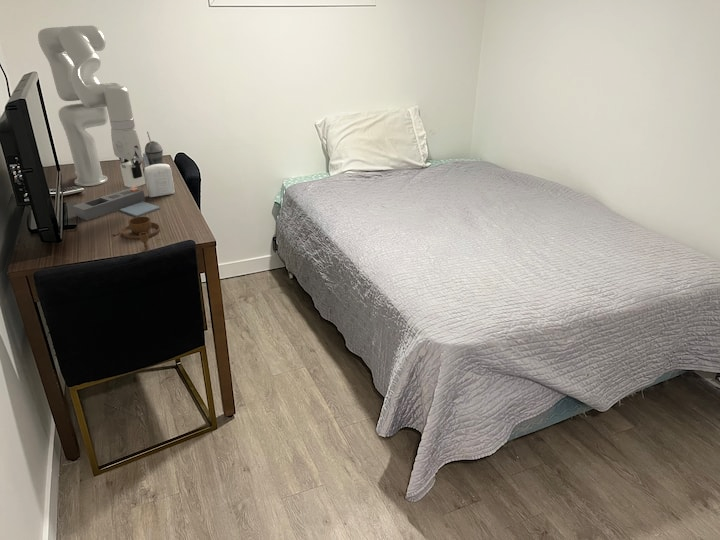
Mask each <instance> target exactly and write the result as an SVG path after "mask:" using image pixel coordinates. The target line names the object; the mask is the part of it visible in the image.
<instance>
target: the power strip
mask: <svg viewBox="0 0 720 540" xmlns="http://www.w3.org/2000/svg"><path fill="white" fill-rule="evenodd" d="M142 201H143V202H145V201H146V196H145V192H144V190H142V189H139V188H138V187H134V188H130V187H128V188H125V189H122V190H119V191H116V192H113V193H110V194H106V195H103V196H100V197H97V198H93V199H90V200H87V201H84V202H80V203H77V204H73V205H72V206H73V212H74V215H75V214H76V215H77V216H78V217H77V216H76V215H75V216H76V217H77V218H79V217H80V218H79V219H82V220H84V219H85V221H90V220H94V219H96V218H98V217H102V216H105V215H107V214H110V213H114V212H116V211H120V209H123V208H126V207H129V206H131V205H134V204H137V203H140V202H142Z"/></svg>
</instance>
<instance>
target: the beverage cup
mask: <svg viewBox="0 0 720 540" xmlns="http://www.w3.org/2000/svg"><path fill="white" fill-rule="evenodd" d="M146 134H147V137H148V142H147V143H146V145H145V148H144V152H145V153H146V156H147V159H148V162H149V166H150V165H154V164H164V160H163V159H164V157H163V154H164V152H163V151H164V150H163V148H162V147H163V146H162V145H161V144H160V143H158V142H157V141H153V140H151V137H150V133H149V131H146Z"/></svg>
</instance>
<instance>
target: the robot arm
mask: <svg viewBox="0 0 720 540" xmlns="http://www.w3.org/2000/svg"><path fill="white" fill-rule="evenodd" d="M37 38H38V43H39V47H40V49H41V51H42V52H43V55H44V56H45V58H46V60H47V62H48V64H49V67H50V70H51V74H52V78H53V81H54V86H55V89H56V93H57V95H58V97H59V98H60V100H62V101H64V102H74V101H75V102H76V101H80V102H81V103H80V102H79V103H75V104H68V105H67V104H66V105H64V106H62V107H60V109H59V110H58V118H59V121H60V123H61V126H62V127H63V130H64V133H65V135H66V138H67V139H66V140H67V143H68V146H69V149H70V150H69V151H70V154H71V156H72V157H71V158H72V161H73V165H74V169H75V171H74V174H75V175H76V177H77V178H76V179H74V184H75V185H76V186H79V187H92V186H98V185H102V184H105V183H106V182H107V181H108V176H107V175H104V174H103V171H102V167H101V163H100V158H99V153H98V150H97V145H96V140H95V139H94V137H93V136H92V134H90V132H89V133H88V132H87V131H86V129H89V128H96V127H101V126H105V125H106V124H107V123H108V119H109V123H110V128H111V129H110V133H111V135H110V136H111V143H112V149H113V154H114V156H115V157H117V158H119V161H120V164H122V163H125V162H129V161H131V164H132V173H133V178H135V179H136V178H139V177H142V172H141V167H140V166H141V163H142V162H144V158H143V153H142V147H141V143H140V140H139V139H140V138H139V136H138V133H137V130H136V123H135V120H134V115H133V110H132V106H131V100H130V99H131V98H130V96H129V95H130V94H129V91H128V88H127V87H125V86H123V85H121V84H119V83H117V82H109V83H107V82H106V83H101V82H100V80H99V79H98V77H97V76H96V75H95V74H94V73H96V72H97V71H98V70H99V69H100V68H101V59H100V56H98V54H97V52H101V51H103V50H104V49H106V39H105V36H104V34H103V32H102V31H101V29H99V27H97V26H95V25H70V26H55V27H53V26H52V27H46V28H42V29H40V30H39V31H38V34H37ZM134 160H135V163H134Z"/></svg>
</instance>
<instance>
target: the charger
mask: <svg viewBox="0 0 720 540" xmlns="http://www.w3.org/2000/svg"><path fill="white" fill-rule="evenodd" d="M135 161H136V160H134V163H135ZM119 167H120V170H121V171H120V172H121V176H122V179H123V184H124V187H128V188H138V187H140V186H143V185H146V181H145V175H144V168H143V164H142V162H141V166H140V167H141V172H142V177H139V178H136V179H135V178H133V173H132V164H131V161H129V162H125V163H122V164H121V163H119Z"/></svg>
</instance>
